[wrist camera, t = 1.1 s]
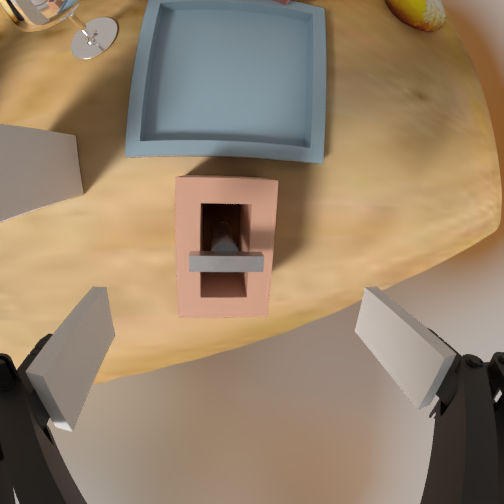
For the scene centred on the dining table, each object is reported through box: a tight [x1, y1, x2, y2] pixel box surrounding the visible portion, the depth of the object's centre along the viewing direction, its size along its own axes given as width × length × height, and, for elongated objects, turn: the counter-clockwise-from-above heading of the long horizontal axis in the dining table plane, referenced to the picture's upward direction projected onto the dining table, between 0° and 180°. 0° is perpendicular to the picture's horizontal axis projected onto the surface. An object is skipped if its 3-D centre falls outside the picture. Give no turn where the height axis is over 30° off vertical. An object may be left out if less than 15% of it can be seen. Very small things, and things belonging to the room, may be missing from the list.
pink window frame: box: [175, 175, 278, 318], centre depth 26 cm, size 14×8×8 cm, turn 177°
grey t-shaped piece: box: [189, 221, 264, 272], centre depth 25 cm, size 5×2×11 cm, turn 87°
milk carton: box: [0, 124, 84, 223], centre depth 16 cm, size 7×7×19 cm
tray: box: [125, 0, 326, 164], centre depth 24 cm, size 20×20×2 cm
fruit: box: [385, 0, 446, 32], centre depth 21 cm, size 11×10×8 cm
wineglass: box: [0, 0, 118, 60], centre depth 12 cm, size 8×8×18 cm
